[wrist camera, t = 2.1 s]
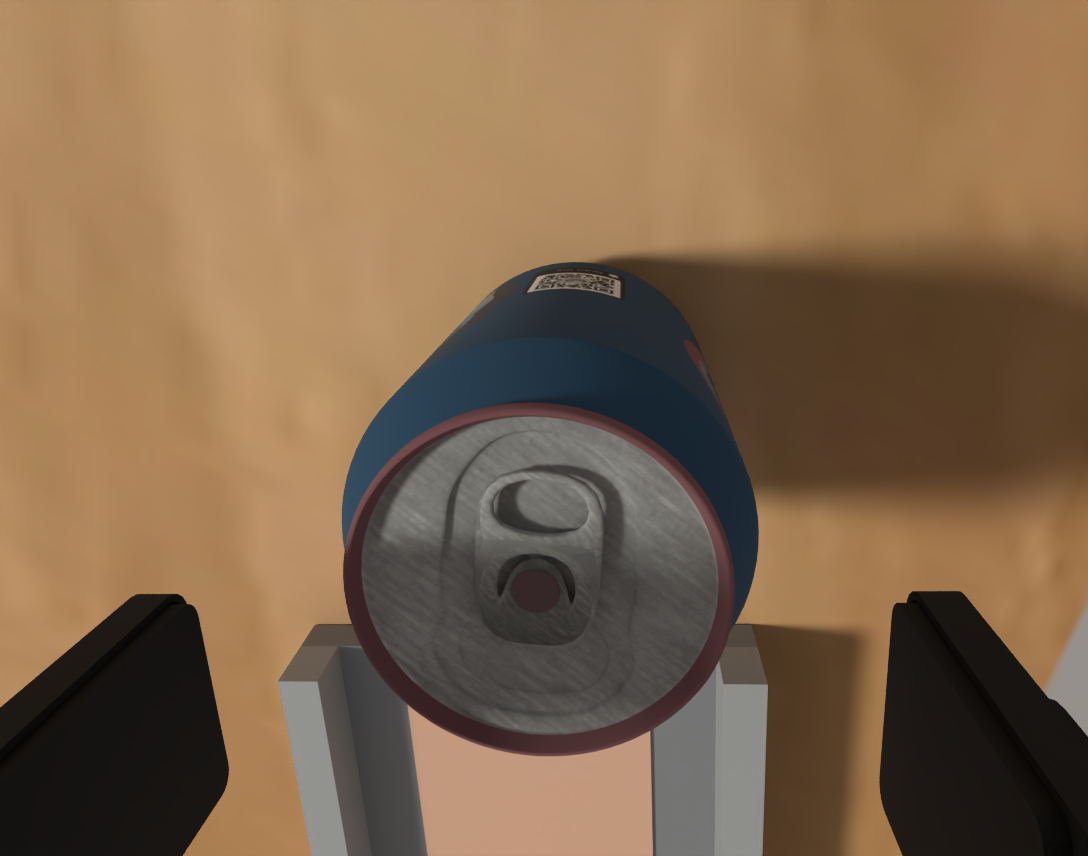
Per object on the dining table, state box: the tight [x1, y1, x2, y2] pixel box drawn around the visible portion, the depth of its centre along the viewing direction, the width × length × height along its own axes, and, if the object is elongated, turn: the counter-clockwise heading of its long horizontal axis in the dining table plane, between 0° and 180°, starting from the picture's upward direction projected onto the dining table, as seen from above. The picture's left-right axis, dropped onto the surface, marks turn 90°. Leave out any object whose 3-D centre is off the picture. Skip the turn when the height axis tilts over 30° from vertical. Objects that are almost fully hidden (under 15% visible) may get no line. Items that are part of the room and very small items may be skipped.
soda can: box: [342, 262, 759, 756], centre depth 17 cm, size 7×7×12 cm
